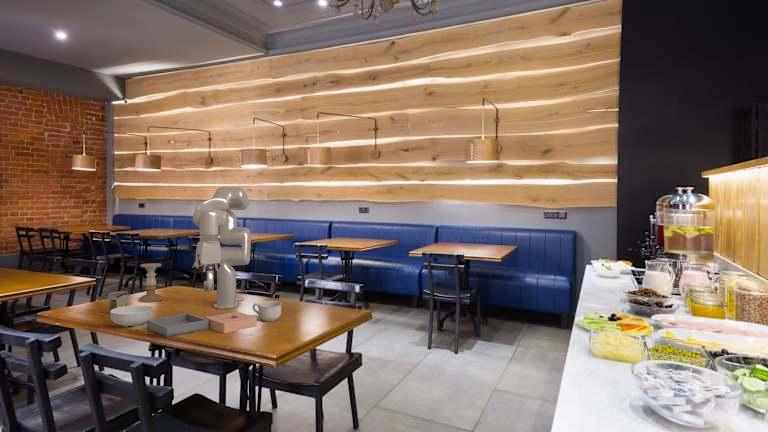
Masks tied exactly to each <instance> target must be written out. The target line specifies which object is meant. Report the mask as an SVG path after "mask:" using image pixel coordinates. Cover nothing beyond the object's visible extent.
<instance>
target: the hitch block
mask: <svg viewBox="0 0 768 432" xmlns="http://www.w3.org/2000/svg"><path fill="white" fill-rule="evenodd" d="M204 319H207V320H208V329H211V330H214V331H217V332H220V333H223V334H227V333H232V332H235V331H240V330H245V329H248V328H253V327H257V323H258V322H257V317H256V316H254V315H252V314H251V315H250V314H247V313H243V312H240V311H238V310H237V311H232V312H227V313H226V312H225V313H223V314H222V313H221V314H215V315H211V316H210V315H209V316H205V317H204Z"/></svg>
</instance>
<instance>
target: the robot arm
mask: <svg viewBox="0 0 768 432" xmlns="http://www.w3.org/2000/svg"><path fill="white" fill-rule="evenodd" d="M249 201H250V200H249V196H248V194H247V192H246V190H245V189H244V188H243V187H240V186H219V187H218V188H217V189H216V190H215V192H214V194H213V195H212V197H211V198H210V199H207V200H205V201H203V202H200V203H199V204H198V205H197V206H196V208H195V209H194V212H193V216H192V221H193V224H194V225H195V226H197V227H199V241H198V242H197V245H196V251H195V260H194V263H193V265H192V266H193V267H195V268H197V270H199V272H200V280H201V281H202V282H204V281H206V280H207V272H205V271H206V265H214V280H216V281H217V282H216V283H217V284H216V290H217V292H216V303H214V304H213V308H215V309H220V310H224V309H225V310H226V309H227V310H228V309H234V308H235V309H236V308H238V307H240V304H239V302H243V301H244V300H245V297H243V296H242V297H237V273H236V270H235V269H234V267H232V266H246V265H249V263H250V261H251V251H252V250H251V246H252V245H251V242H252V236H251V233H252V232H251V231H250V229H249V228H247V227H244V226H243V227H242V226H241V227H240V226H238V217H237V216H236V214H235V212H233V211H245V210H247V209H248V208H249V203H250V202H249ZM221 244H222V245H226V246H224V247H221ZM227 245H228V246H227ZM232 245H233V246H232ZM234 245H235V246H236V247H234ZM229 246H230V247H229ZM231 246H232V247H231ZM237 246H241V247H237Z"/></svg>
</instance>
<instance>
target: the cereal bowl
mask: <svg viewBox="0 0 768 432" xmlns="http://www.w3.org/2000/svg"><path fill="white" fill-rule="evenodd" d="M109 315H110V321H112V322H113V323H114V324H117V325H118V326H119V325H120V326H121V327H123V328H129V327H128V326H134V327H138V326H137V325H139V326H141V325H142V324H144V323H147V320H151V318H152V317H153V315H154V307H153V306H151V305H150V306H149V305H142V304H140V305H135V304H134V305H127V306H124V307H118V308H115V309H112V310H111V311H110V310H109Z"/></svg>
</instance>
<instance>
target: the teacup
mask: <svg viewBox="0 0 768 432" xmlns="http://www.w3.org/2000/svg"><path fill="white" fill-rule="evenodd" d="M256 307H257V308H258V309H256ZM251 308H252V311H253V312H255V313H256V314H257V315H258V317H259V319H260V320H262V321H263V322H275V321H277V320H278V319H279V318H280V317H281V315H282V302H280V301H278V300H266V301H262V302H260V303H258V302H255V303H253V305H252V307H251Z"/></svg>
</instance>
